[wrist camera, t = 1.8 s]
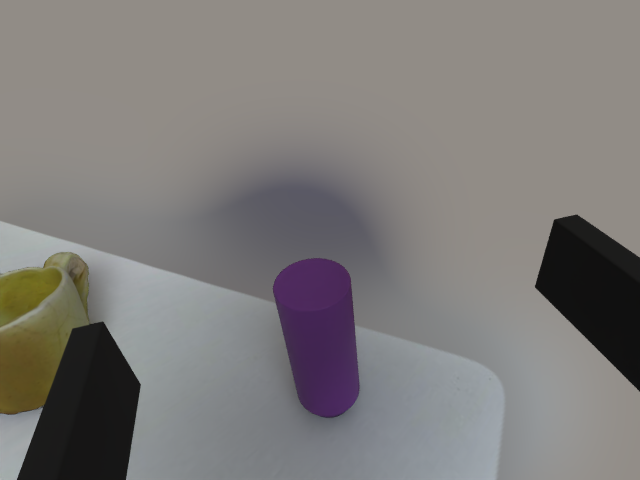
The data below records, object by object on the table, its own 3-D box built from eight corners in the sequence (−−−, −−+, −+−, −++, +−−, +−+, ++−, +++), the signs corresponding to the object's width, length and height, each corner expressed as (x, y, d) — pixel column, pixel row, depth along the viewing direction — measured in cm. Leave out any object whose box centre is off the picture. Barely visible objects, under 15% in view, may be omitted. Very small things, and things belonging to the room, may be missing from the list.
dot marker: (373, 394, 29) (367, 279, 22) (329, 438, 27) (308, 324, 20) (330, 360, 32) (314, 248, 25) (287, 397, 29) (257, 285, 23)
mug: (33, 443, 26) (-58, 314, 24) (-37, 432, 31) (-120, 324, 28) (164, 331, 37) (112, 231, 34) (96, 336, 42) (45, 249, 39)
